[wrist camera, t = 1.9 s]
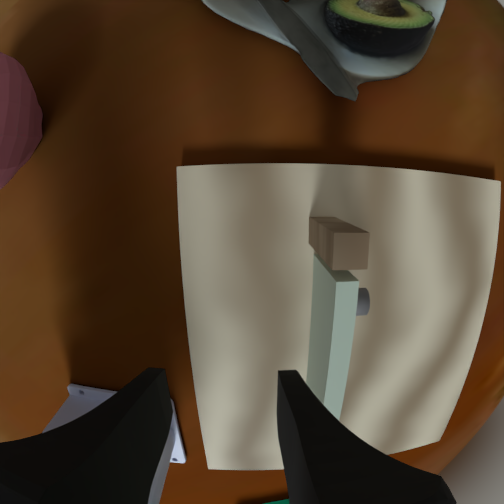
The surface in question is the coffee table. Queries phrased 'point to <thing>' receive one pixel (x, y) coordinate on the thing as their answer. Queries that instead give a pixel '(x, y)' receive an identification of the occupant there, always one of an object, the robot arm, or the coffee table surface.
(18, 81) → the apple
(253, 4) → the salad plate
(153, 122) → the coffee table surface
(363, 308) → the door
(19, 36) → the coffee table surface
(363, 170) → the door frame board
